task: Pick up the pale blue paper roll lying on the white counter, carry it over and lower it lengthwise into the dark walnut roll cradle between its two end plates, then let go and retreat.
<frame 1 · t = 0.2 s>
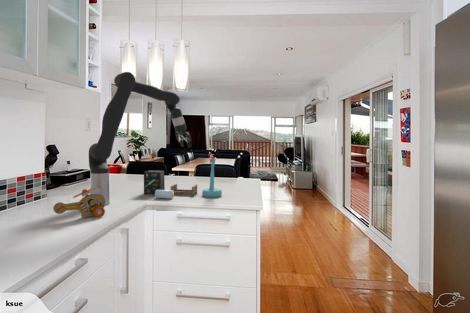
hand: (186, 146, 194), 31 cm above the worktop, tool tilted 20°, fingers open, 8 cm apart
toy helicopter: (83, 218, 130), on the worktop
paper roll: (164, 194, 174), point 2 cm above the worktop
roll cradle: (184, 194, 187), on the worktop
blue towel holder stand: (211, 196, 184), on the worktop
tampon box: (154, 193, 190), on the worktop
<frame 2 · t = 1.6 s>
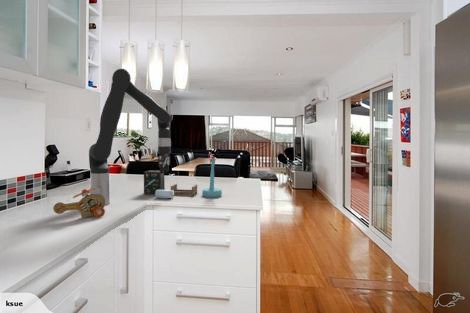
hand: (164, 172, 173), 16 cm above the worktop, tool pointing down, fingers open, 8 cm apart
paper roll: (164, 194, 174), point 2 cm above the worktop, tilted 13°
everything else where it was.
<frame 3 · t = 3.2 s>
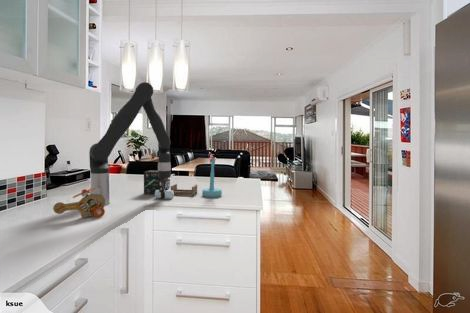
hand: (164, 197, 174), 1 cm above the worktop, tool pointing down, fingers closed on paper roll, 5 cm apart
paper roll: (164, 194, 173), point 2 cm above the worktop, touching gripper
everything else where it was.
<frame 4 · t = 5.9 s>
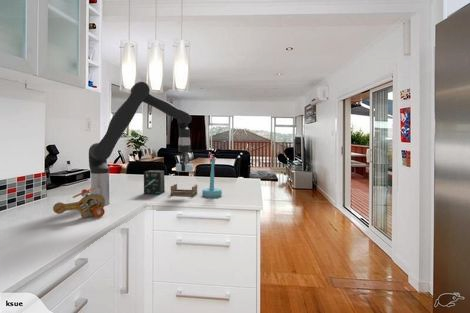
hand: (184, 170, 186), 16 cm above the worktop, tool pointing down, fingers closed on paper roll, 5 cm apart
paper roll: (184, 167, 186), point 17 cm above the worktop, touching gripper
everything else where it was.
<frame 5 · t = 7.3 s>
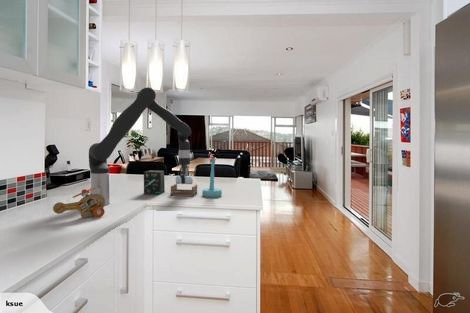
hand: (184, 182, 186), 8 cm above the worktop, tool pointing down, fingers closed on paper roll, 5 cm apart
paper roll: (184, 180, 186), point 9 cm above the worktop, touching gripper
everything else where it was.
when the fingers open (4 cm above the worktop, at t = 8.5 s): paper roll drops 2 cm, resting on roll cradle.
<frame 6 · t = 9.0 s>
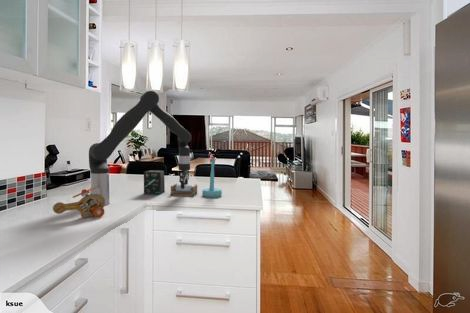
hand: (184, 187, 186), 4 cm above the worktop, tool pointing down, fingers open, 8 cm apart
paper roll: (184, 188, 187), point 4 cm above the worktop, touching roll cradle
everything else where it was.
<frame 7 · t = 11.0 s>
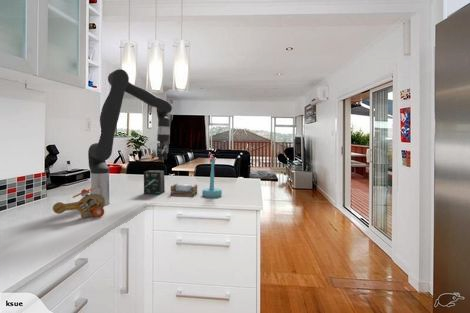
hand: (162, 159, 181), 23 cm above the worktop, tool pointing down, fingers open, 8 cm apart
nothing on the worktop moved.
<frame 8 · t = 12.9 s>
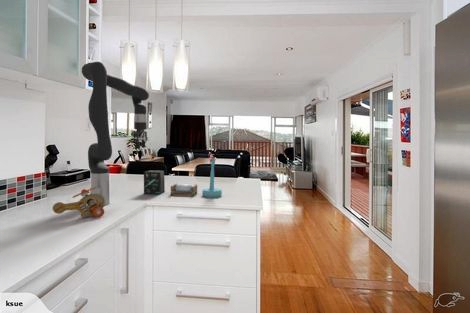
hand: (140, 147, 178), 30 cm above the worktop, tool pointing down, fingers open, 8 cm apart
nothing on the worktop moved.
at the end: paper roll 0.0 cm off-centre on the roll cradle, point 3.8 cm above the roll cradle's base; the gripper is holding nothing; paper roll touching roll cradle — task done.
